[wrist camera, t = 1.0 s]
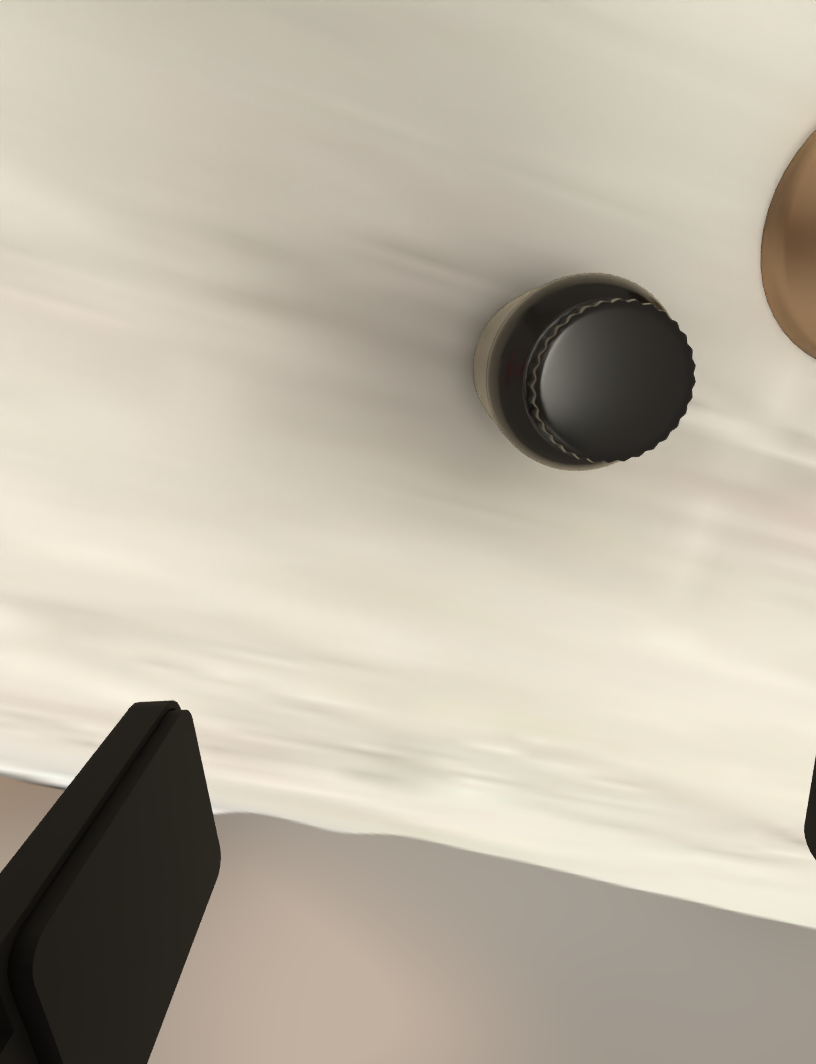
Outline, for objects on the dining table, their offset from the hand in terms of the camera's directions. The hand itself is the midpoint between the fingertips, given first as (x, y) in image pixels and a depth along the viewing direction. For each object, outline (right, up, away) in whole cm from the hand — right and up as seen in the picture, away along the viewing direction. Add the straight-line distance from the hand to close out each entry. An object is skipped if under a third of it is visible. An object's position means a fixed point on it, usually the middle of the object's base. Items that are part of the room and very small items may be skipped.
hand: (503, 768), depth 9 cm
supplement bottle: (+5, +12, +20) cm, 24 cm away
